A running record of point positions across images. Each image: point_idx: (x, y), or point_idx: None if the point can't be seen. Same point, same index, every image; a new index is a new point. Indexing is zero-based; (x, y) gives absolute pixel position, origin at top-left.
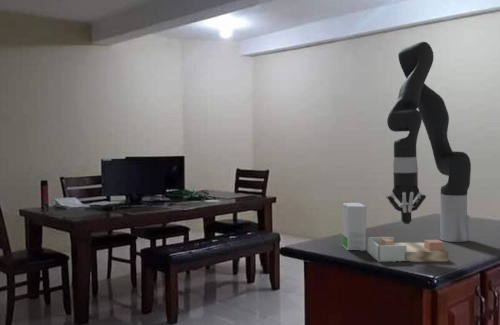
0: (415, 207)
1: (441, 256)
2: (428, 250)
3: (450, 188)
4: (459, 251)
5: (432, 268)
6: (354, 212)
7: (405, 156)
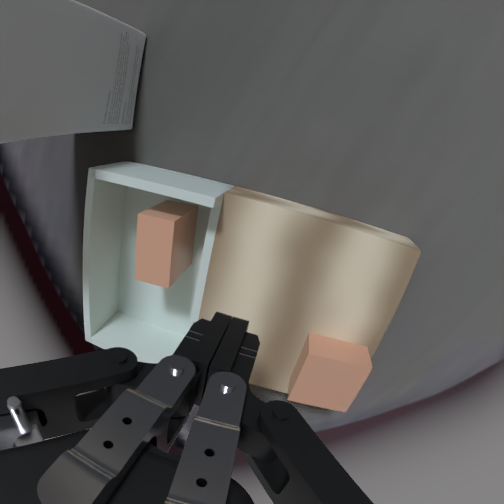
0: (260, 463)
1: None
2: (287, 374)
3: None
4: (493, 276)
5: None
6: None
7: None
